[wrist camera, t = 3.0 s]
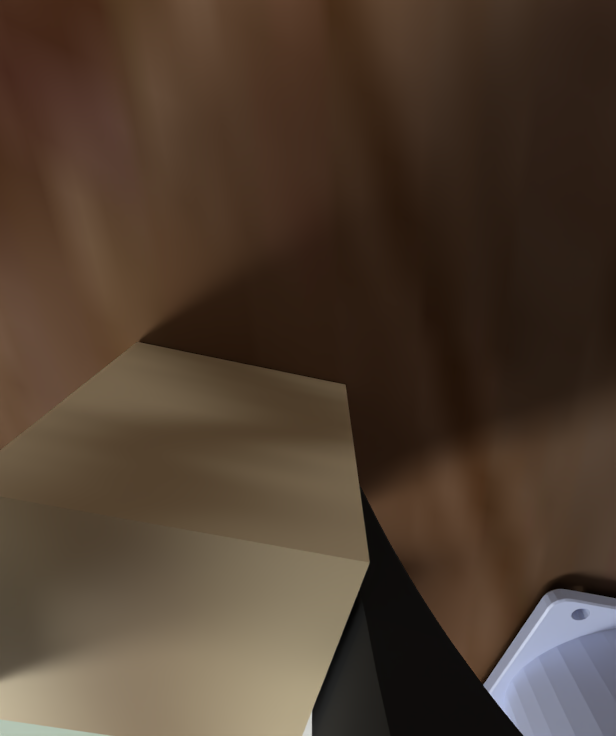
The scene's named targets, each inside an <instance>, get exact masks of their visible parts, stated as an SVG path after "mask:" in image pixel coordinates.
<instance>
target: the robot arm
mask: <svg viewBox="0 0 616 736" xmlns="http://www.w3.org/2000/svg"><path fill="white" fill-rule="evenodd" d="M359 487H360V485H359ZM360 494H361V502H362V509H363V517H364V524H365V531H366V539H367V546H368V553H369V561H370V563H369V566H368V568H367V571H366V574H365V576H364V579H363V581H362V584H361V586H360V589H359V591H358V594H357V597H356V599H355V602H354V604H353V607H352V609H351V612H350V615H349V617H348V620H347V622H346V625H345V627H344V630H343V632H342V635H341V638H340V640H339V643H338V645H337V648H336V650H335V653H334V656H333V658H332V661H331V663H330V666H329V668H328V671H327V674H326V676H325V679H324V681H323V684H322V686H321V689H320V691H319V694H318V697H317V699H316V702H315V704H314V707H313V709H312V736H616V598H612V597H606V596H600V595H595V594H589V593H584V592H578V591H573V590H567V589H555V590H551V591H549V592H547V593H546V594H545V595H544V596H543V597H542V599H541V600H540V602H539V603H538V605H537V606H536V608H535V609H534V611H533V612H532V614H531V615H530V617H529V618H528V620H527V621H526V622H525V624H524V625H523V627H522V628H521V630H520V631H519V633H518V634H517V636H516V637H515V639H514V640H513V642H512V643H511V645H510V646H509V648H508V649H507V651H506V652H505V653H504V655H503V656H502V658H501V659H500V661H499V662H498V664H497V665H496V667H495V668H494V670H493V671H492V673H491V674H490V676H489V677H488V679H487V680H486V682H485V683H484V684H482V683H481V682H480V680H479V679H478V678H477V676H476V675H475V674H474V672H473V671H472V670H471V668H470V667H469V665H468V664H467V663H466V661H465V660H464V659H463V657H462V656H461V655H460V653H459V652H458V650H457V649H456V648H455V646H454V645H453V643H452V642H451V640H450V639H449V638H448V636H447V635H446V633H445V632H444V630H443V629H442V627H441V626H440V624H439V623H438V621H437V620H436V618H435V617H434V615H433V614H432V612H431V611H430V609H429V607H428V606H427V604H426V603H425V601H424V600H423V598H422V597H421V595H420V593H419V592H418V590H417V589H416V587H415V585H414V584H413V582H412V580H411V579H410V577H409V575H408V574H407V572H406V570H405V569H404V567H403V565H402V563H401V562H400V560H399V558H398V556H397V555H396V553H395V551H394V549H393V548H392V546H391V544H390V542H389V541H388V539H387V537H386V535H385V533H384V531H383V529H382V528H381V526H380V524H379V522H378V520H377V518H376V516H375V514H374V512H373V510H372V508H371V506H370V504H369V502H368V500H367V498H366V496H365V494H364V492H363V490H362V488H361V487H360Z"/></svg>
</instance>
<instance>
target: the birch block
mask: <svg viewBox="0 0 616 736" xmlns="http://www.w3.org/2000/svg"><path fill="white" fill-rule="evenodd" d="M369 563H370V561H369V553H368V546H367V539H366V531H365V524H364V517H363V509H362V502H361V494H360V487H359V480H358V472H357V465H356V458H355V450H354V443H353V436H352V428H351V421H350V414H349V406H348V399H347V391H346V385H345V384H340V383H335V382H330V381H325V380H320V379H315V378H311V377H306V376H301V375H296V374H291V373H286V372H281V371H277V370H272V369H267V368H262V367H257V366H252V365H247V364H242V363H238V362H233V361H228V360H223V359H218V358H213V357H208V356H204V355H199V354H194V353H189V352H184V351H179V350H174V349H170V348H165V347H160V346H155V345H150V344H145V343H140V342H136V343H135V344H134V345H133V346H131V347H130V348H129V349H128V350H126V351H125V352H124V353H122V354H121V355H120V356H119V357H117V358H116V359H115V360H114V361H112V362H111V363H110V364H109V365H107V366H106V367H105V368H104V369H102V370H101V371H100V372H98V373H97V374H96V375H95V376H93V377H92V378H91V379H90V380H88V381H87V382H86V383H85V384H83V385H82V386H81V387H80V388H78V389H77V390H76V391H74V392H73V393H72V394H71V395H69V396H68V397H67V398H66V399H64V400H63V401H62V402H61V403H59V404H58V405H57V406H56V407H54V408H53V409H52V410H50V411H49V412H48V413H47V414H45V415H44V416H43V417H42V418H40V419H39V420H38V421H37V422H35V423H34V424H33V425H32V426H30V427H29V428H28V429H27V430H25V431H24V432H23V433H21V434H20V435H19V436H18V437H16V438H15V439H14V440H13V441H11V442H10V443H9V444H8V445H6V446H5V447H4V448H3V449H1V450H0V719H1V720H7V721H14V722H21V723H28V724H35V725H42V726H48V727H55V728H62V729H69V730H76V731H82V732H89V733H96V734H103V735H110V736H302V735H303V732H304V730H305V727H306V725H307V722H308V720H309V717H310V715H311V712H312V709H313V707H314V704H315V702H316V699H317V697H318V694H319V691H320V689H321V686H322V684H323V681H324V679H325V676H326V674H327V671H328V668H329V666H330V663H331V661H332V658H333V656H334V653H335V650H336V648H337V645H338V643H339V640H340V638H341V635H342V632H343V630H344V627H345V625H346V622H347V620H348V617H349V615H350V612H351V609H352V607H353V604H354V602H355V599H356V597H357V594H358V591H359V589H360V586H361V584H362V581H363V579H364V576H365V574H366V571H367V568H368V566H369Z"/></svg>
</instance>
